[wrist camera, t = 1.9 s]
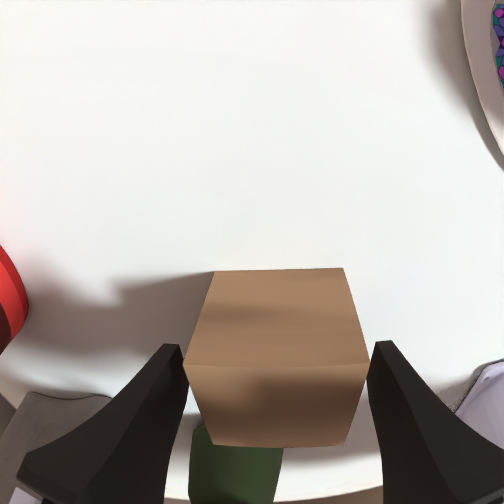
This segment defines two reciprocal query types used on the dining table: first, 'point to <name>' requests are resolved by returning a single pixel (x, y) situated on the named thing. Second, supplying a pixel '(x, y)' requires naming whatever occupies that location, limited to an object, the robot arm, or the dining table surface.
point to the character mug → (231, 472)
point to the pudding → (486, 59)
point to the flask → (39, 433)
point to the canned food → (10, 301)
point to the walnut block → (277, 358)
